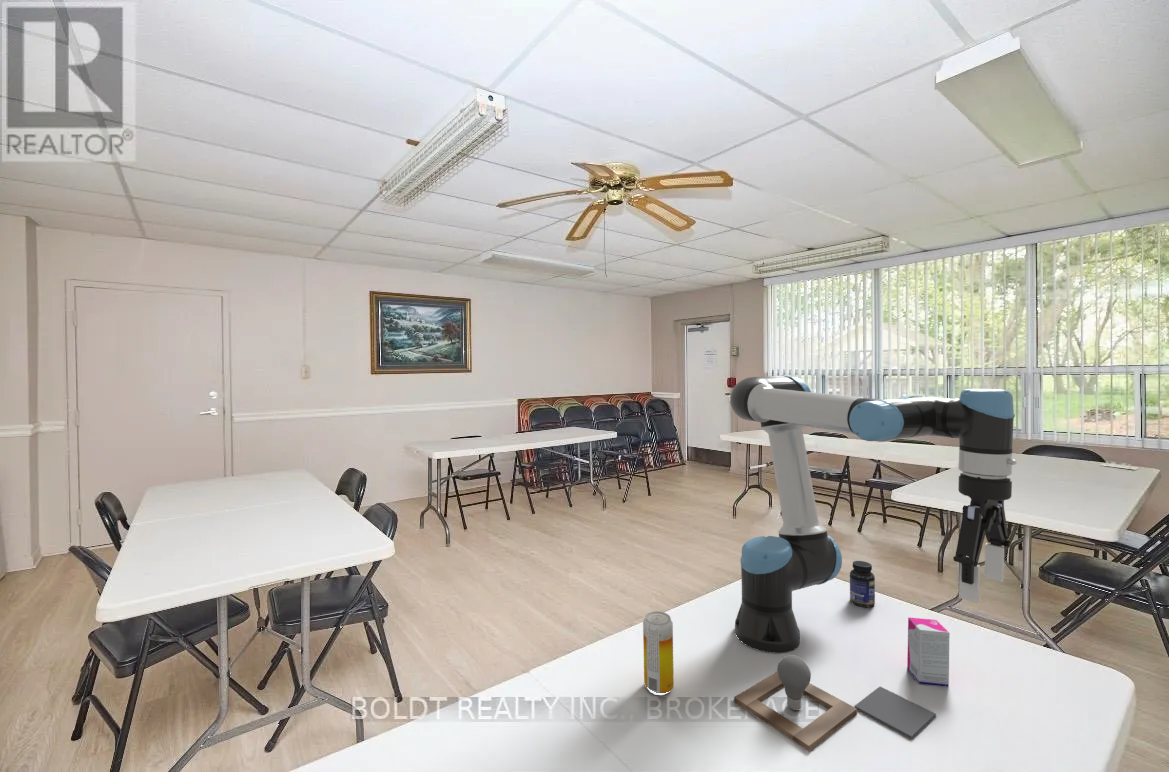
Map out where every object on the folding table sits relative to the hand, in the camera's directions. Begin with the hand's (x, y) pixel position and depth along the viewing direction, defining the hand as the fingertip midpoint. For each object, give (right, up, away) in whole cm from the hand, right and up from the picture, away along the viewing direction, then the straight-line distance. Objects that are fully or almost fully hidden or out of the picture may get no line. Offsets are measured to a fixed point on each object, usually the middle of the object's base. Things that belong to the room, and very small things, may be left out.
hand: (981, 589), depth 91 cm
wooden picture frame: (-32, -26, +6) cm, 41 cm away
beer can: (-57, -26, +13) cm, 64 cm away
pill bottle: (+5, -23, +48) cm, 53 cm away
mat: (-14, -25, +4) cm, 29 cm away
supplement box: (0, -25, +14) cm, 29 cm away
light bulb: (-32, -26, +6) cm, 41 cm away
